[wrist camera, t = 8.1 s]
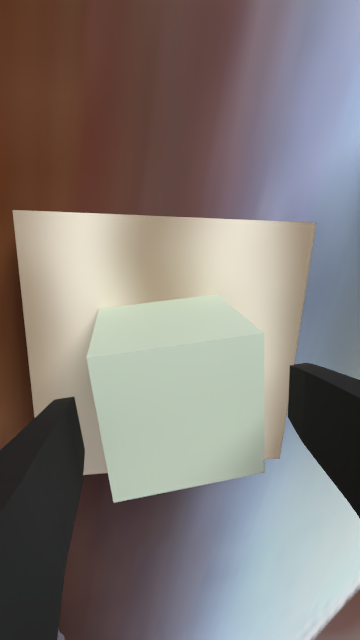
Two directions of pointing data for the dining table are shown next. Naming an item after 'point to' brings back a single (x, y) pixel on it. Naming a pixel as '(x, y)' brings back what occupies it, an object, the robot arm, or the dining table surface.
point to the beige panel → (154, 294)
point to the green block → (177, 394)
